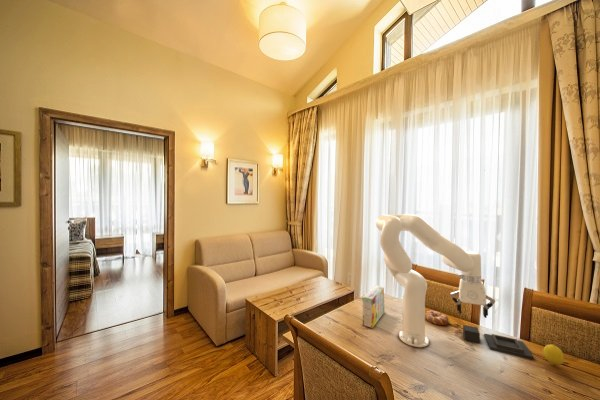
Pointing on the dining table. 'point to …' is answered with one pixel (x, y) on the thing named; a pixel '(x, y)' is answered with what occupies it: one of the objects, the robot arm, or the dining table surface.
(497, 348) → the base pad
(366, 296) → the snack box
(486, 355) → the dining table surface
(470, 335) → the black block
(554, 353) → the lemon
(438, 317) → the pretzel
